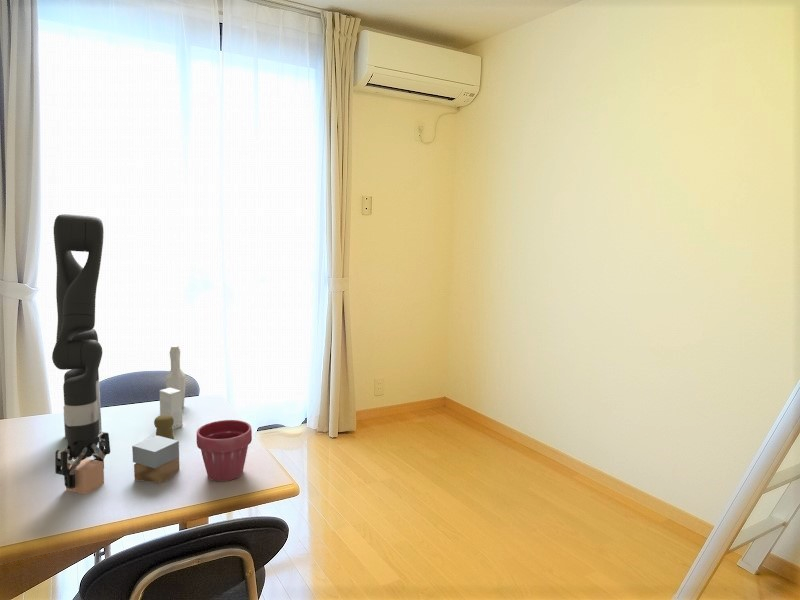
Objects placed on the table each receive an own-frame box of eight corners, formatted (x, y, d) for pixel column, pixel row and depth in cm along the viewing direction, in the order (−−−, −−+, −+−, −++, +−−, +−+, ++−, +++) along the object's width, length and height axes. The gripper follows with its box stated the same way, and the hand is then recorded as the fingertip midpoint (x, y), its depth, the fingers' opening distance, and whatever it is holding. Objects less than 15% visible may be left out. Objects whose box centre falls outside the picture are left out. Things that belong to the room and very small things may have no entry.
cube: (66, 490, 143) (64, 467, 142) (86, 479, 148) (84, 457, 147) (84, 494, 141) (83, 471, 140) (104, 483, 147) (103, 461, 146)
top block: (132, 462, 150) (132, 445, 149) (157, 450, 157) (156, 435, 156) (155, 468, 146) (154, 451, 146) (179, 456, 154) (178, 440, 153)
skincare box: (183, 426, 186) (182, 390, 184) (171, 430, 182) (170, 394, 180) (171, 421, 189) (170, 387, 187) (159, 425, 185) (158, 390, 184)
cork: (162, 458, 162) (161, 421, 160) (149, 453, 165) (147, 416, 163) (180, 451, 167) (179, 415, 165) (167, 446, 170) (166, 410, 168)
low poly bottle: (163, 408, 201) (161, 347, 197) (173, 402, 207) (171, 343, 203) (180, 410, 200) (178, 349, 196) (189, 404, 206) (188, 344, 202)
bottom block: (134, 480, 149) (133, 464, 148) (152, 467, 157) (151, 452, 156) (163, 484, 148) (162, 467, 147) (179, 470, 156) (179, 454, 155)
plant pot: (195, 466, 157) (194, 422, 155) (247, 459, 163) (246, 416, 161) (200, 490, 145) (198, 442, 142) (256, 481, 150) (256, 435, 148)
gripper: (93, 407, 150) (96, 466, 152) (44, 426, 136) (48, 490, 139) (116, 411, 147) (119, 471, 150) (68, 431, 134) (72, 495, 136)
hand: (85, 480), depth 144 cm, fingers open, 8 cm apart
